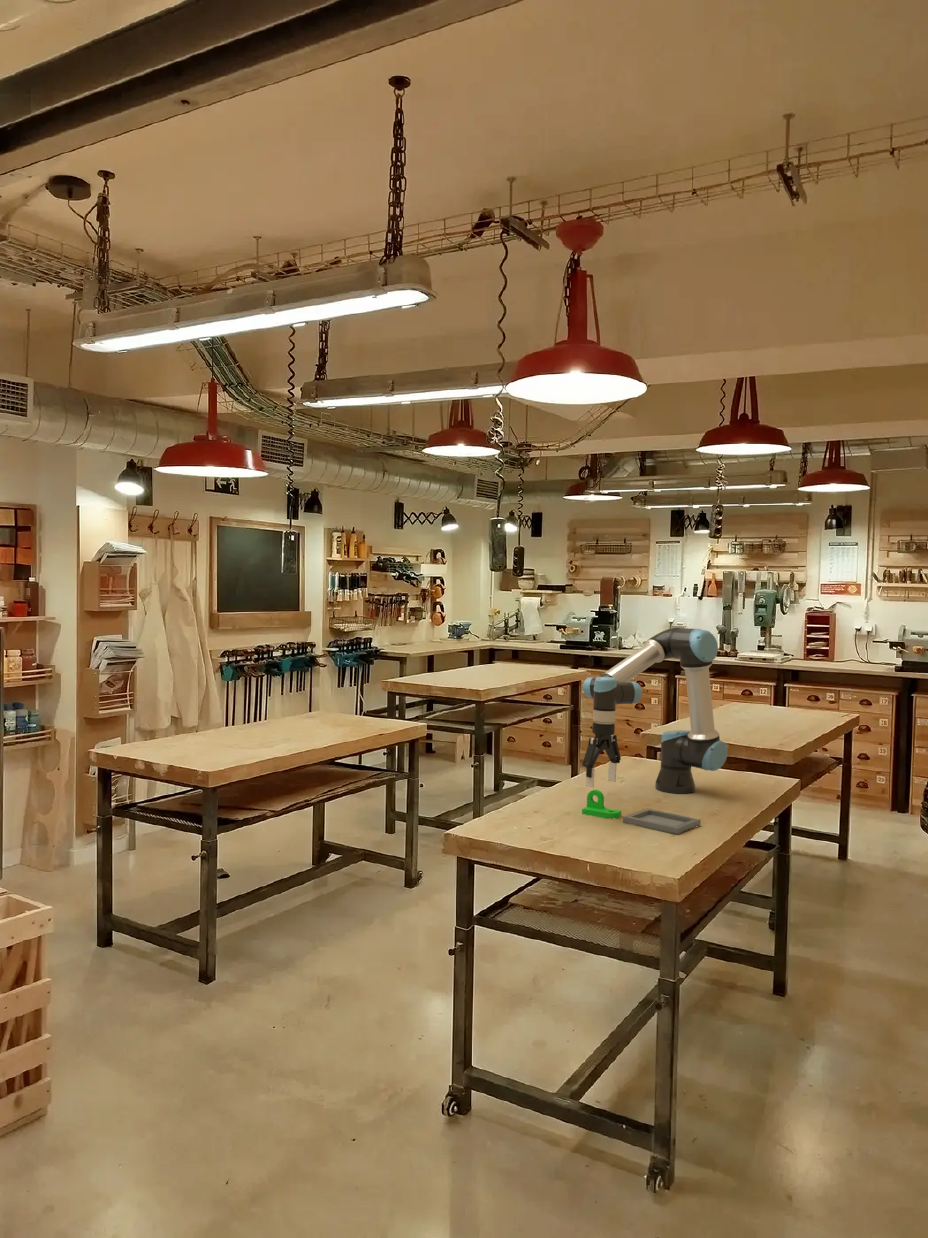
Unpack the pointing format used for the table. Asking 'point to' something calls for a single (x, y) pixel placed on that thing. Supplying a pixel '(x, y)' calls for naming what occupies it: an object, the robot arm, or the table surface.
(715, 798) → the table surface
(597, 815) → the mechanical part
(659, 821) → the locating tray
